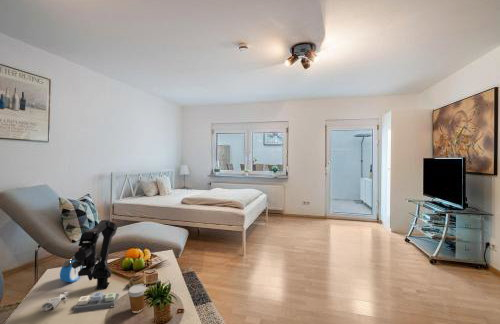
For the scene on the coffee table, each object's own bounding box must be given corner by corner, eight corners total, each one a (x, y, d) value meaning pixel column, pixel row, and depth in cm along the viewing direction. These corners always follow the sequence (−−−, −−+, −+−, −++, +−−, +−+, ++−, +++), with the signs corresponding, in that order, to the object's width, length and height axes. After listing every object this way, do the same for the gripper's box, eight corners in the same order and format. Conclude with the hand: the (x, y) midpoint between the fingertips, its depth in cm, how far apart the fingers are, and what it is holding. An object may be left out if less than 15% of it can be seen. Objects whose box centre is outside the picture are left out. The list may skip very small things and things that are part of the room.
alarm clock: (68, 286, 154) (68, 263, 153) (59, 286, 154) (58, 262, 153) (83, 275, 167) (83, 254, 166) (74, 275, 167) (74, 253, 166)
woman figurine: (32, 305, 128) (57, 288, 146) (31, 314, 128) (57, 296, 146) (55, 305, 128) (77, 288, 146) (55, 314, 128) (77, 296, 146)
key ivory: (81, 300, 137) (81, 296, 137) (90, 299, 138) (90, 295, 138) (78, 305, 133) (77, 301, 133) (87, 304, 134) (87, 299, 134)
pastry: (126, 283, 159) (126, 271, 158) (150, 276, 168) (150, 264, 168) (131, 293, 149) (131, 280, 148) (157, 284, 158) (157, 272, 158)
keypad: (81, 300, 140) (81, 296, 140) (118, 295, 145) (118, 291, 145) (73, 312, 130) (73, 308, 130) (113, 307, 135) (113, 302, 135)
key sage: (107, 297, 141) (107, 293, 141) (115, 296, 142) (115, 292, 142) (104, 301, 137) (104, 297, 136) (113, 300, 138) (113, 296, 138)
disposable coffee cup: (150, 310, 133) (150, 288, 132) (131, 318, 126) (131, 295, 126) (143, 302, 140) (143, 281, 139) (125, 309, 133) (125, 288, 133)
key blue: (94, 296, 139) (94, 292, 139) (103, 295, 140) (103, 291, 140) (91, 301, 135) (91, 297, 135) (100, 300, 136) (100, 296, 136)
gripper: (80, 247, 146) (80, 273, 146) (66, 262, 128) (66, 291, 128) (101, 246, 149) (101, 271, 149) (90, 259, 131) (91, 288, 131)
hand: (90, 280), depth 140 cm, fingers closed
